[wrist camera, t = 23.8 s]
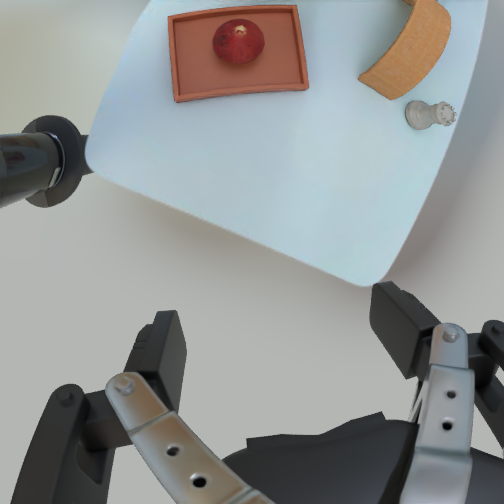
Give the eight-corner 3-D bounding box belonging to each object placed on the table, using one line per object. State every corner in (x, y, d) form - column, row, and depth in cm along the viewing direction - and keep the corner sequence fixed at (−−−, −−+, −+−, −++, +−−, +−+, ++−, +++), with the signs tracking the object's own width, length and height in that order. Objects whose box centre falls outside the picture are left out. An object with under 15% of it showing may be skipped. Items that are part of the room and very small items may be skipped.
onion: (217, 74, 31) (214, 56, 24) (211, 35, 29) (207, 10, 22) (264, 68, 32) (273, 49, 24) (257, 29, 30) (264, 4, 22)
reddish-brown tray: (177, 103, 33) (174, 101, 31) (170, 21, 28) (167, 16, 27) (305, 90, 33) (309, 87, 31) (293, 10, 29) (296, 5, 27)
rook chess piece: (415, 135, 36) (449, 137, 28) (398, 111, 35) (431, 108, 27) (431, 119, 35) (465, 119, 28) (416, 95, 34) (449, 90, 26)
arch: (423, 10, 28) (460, -7, 19) (390, 100, 34) (431, 93, 25) (394, -11, 27) (427, -34, 18) (356, 78, 33) (392, 63, 24)
